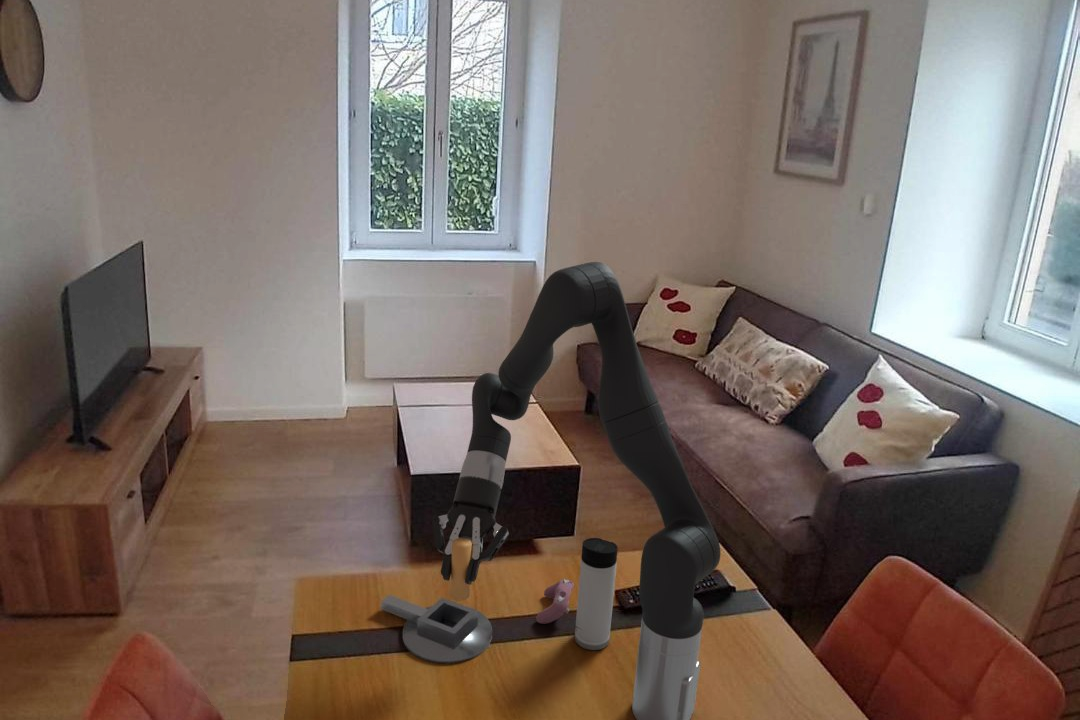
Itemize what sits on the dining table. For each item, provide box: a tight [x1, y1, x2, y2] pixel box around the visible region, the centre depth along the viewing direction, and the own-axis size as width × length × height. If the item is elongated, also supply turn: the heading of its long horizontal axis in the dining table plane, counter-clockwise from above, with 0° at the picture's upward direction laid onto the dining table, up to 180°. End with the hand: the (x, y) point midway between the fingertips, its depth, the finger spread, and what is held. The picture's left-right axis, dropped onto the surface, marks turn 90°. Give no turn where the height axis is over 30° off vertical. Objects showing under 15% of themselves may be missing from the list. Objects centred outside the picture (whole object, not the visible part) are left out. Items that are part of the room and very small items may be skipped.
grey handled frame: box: [380, 594, 493, 664], centre depth 148 cm, size 22×16×4 cm
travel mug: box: [574, 537, 619, 651], centre depth 145 cm, size 6×7×20 cm
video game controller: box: [535, 578, 575, 625], centre depth 155 cm, size 10×5×7 cm, turn 170°
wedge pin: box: [449, 538, 472, 602], centre depth 137 cm, size 3×3×10 cm
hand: (457, 581), depth 135 cm, fingers closed on wedge pin, 3 cm apart
